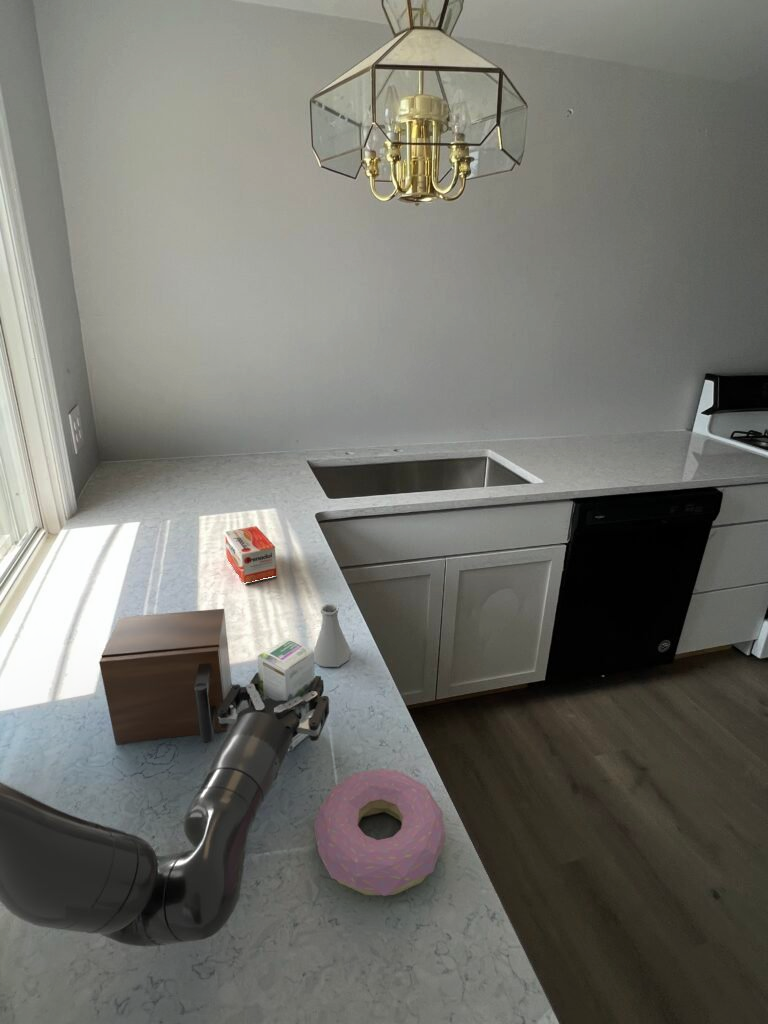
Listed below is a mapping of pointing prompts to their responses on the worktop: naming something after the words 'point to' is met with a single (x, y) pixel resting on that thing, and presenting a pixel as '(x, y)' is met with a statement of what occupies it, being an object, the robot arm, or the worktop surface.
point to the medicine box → (250, 554)
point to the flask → (331, 640)
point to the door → (164, 694)
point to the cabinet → (172, 636)
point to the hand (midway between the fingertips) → (291, 677)
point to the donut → (383, 860)
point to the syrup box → (286, 675)
